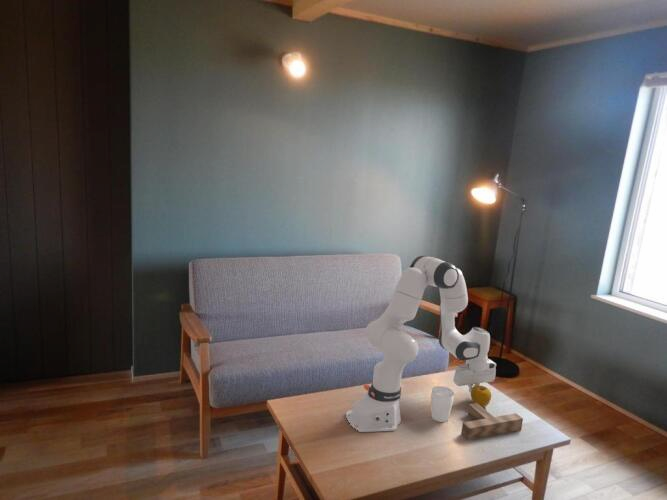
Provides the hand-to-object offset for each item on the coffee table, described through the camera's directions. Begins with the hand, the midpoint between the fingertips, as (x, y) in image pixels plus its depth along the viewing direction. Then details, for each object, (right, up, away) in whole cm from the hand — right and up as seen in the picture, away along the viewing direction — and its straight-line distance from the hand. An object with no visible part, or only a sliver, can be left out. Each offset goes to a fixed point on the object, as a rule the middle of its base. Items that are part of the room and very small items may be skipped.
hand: (472, 391), depth 205 cm
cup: (-18, -6, -16) cm, 25 cm away
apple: (+2, -5, -4) cm, 7 cm away
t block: (-1, -8, -19) cm, 21 cm away
